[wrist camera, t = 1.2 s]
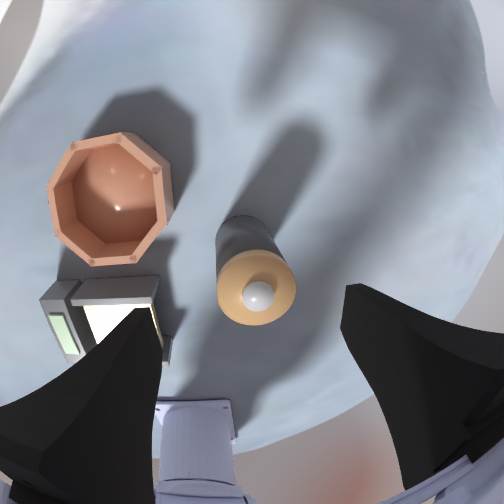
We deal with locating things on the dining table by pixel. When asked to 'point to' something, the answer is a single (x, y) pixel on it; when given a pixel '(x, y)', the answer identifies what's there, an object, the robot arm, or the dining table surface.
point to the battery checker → (93, 294)
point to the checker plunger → (114, 318)
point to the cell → (251, 273)
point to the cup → (110, 198)
